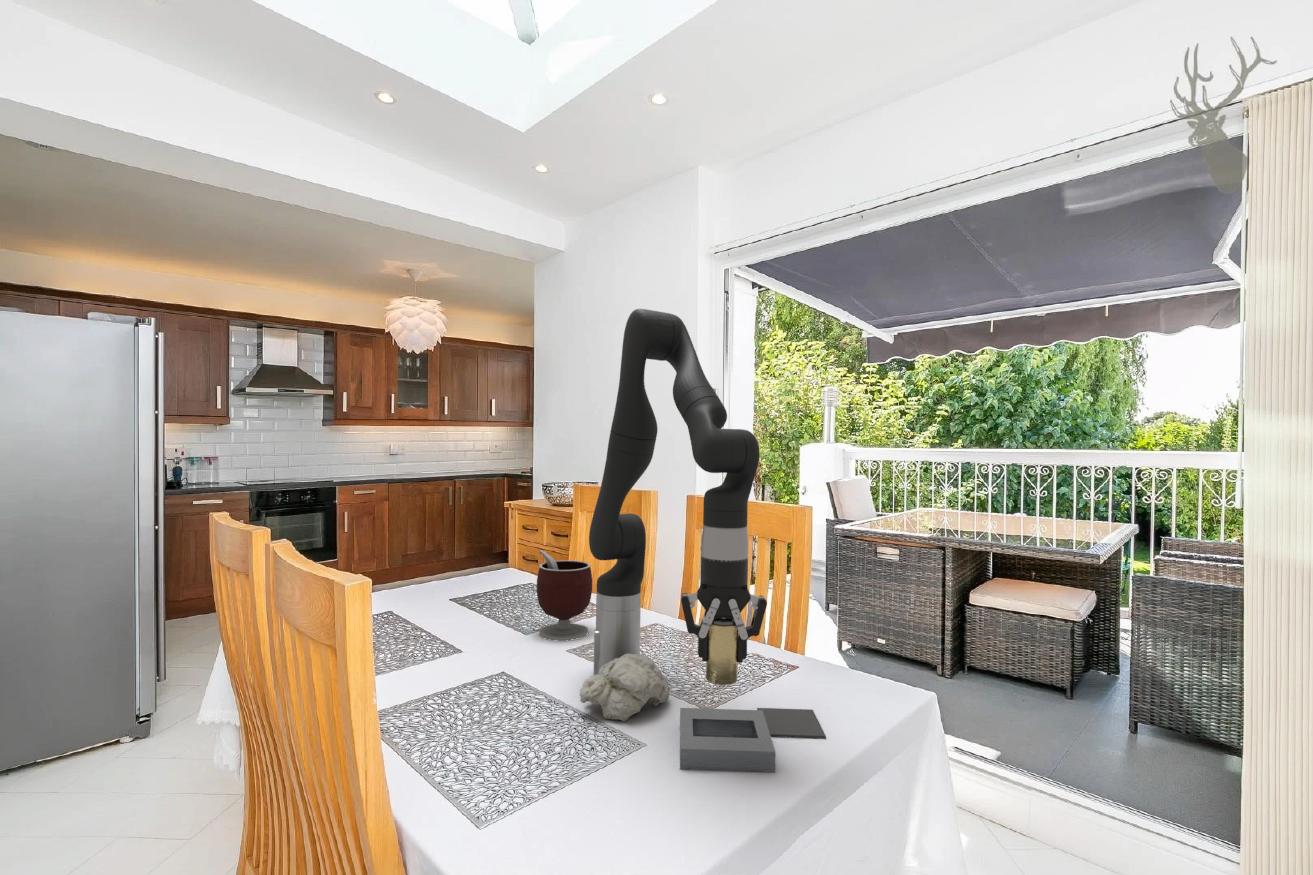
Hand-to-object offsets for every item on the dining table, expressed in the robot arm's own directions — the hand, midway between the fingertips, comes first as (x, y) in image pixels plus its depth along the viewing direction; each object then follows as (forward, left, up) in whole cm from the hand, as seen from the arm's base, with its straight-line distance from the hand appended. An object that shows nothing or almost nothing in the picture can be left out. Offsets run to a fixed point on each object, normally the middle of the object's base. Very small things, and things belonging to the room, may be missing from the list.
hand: (722, 659), depth 97 cm
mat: (+12, +9, -14) cm, 21 cm away
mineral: (-16, +13, -14) cm, 25 cm away
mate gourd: (-37, +56, -14) cm, 68 cm away
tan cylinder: (0, 0, -3) cm, 3 cm away
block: (0, 0, -14) cm, 14 cm away
